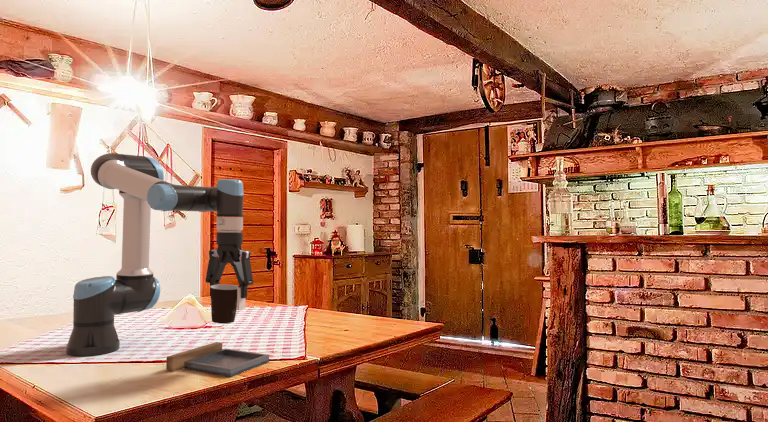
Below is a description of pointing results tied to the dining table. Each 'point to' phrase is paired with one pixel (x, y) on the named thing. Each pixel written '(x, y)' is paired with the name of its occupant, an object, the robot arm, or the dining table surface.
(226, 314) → the coffee mug
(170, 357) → the brown long thin block
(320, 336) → the dining table surface
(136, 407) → the dining table surface
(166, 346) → the dining table surface
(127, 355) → the dining table surface
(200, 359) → the tray
